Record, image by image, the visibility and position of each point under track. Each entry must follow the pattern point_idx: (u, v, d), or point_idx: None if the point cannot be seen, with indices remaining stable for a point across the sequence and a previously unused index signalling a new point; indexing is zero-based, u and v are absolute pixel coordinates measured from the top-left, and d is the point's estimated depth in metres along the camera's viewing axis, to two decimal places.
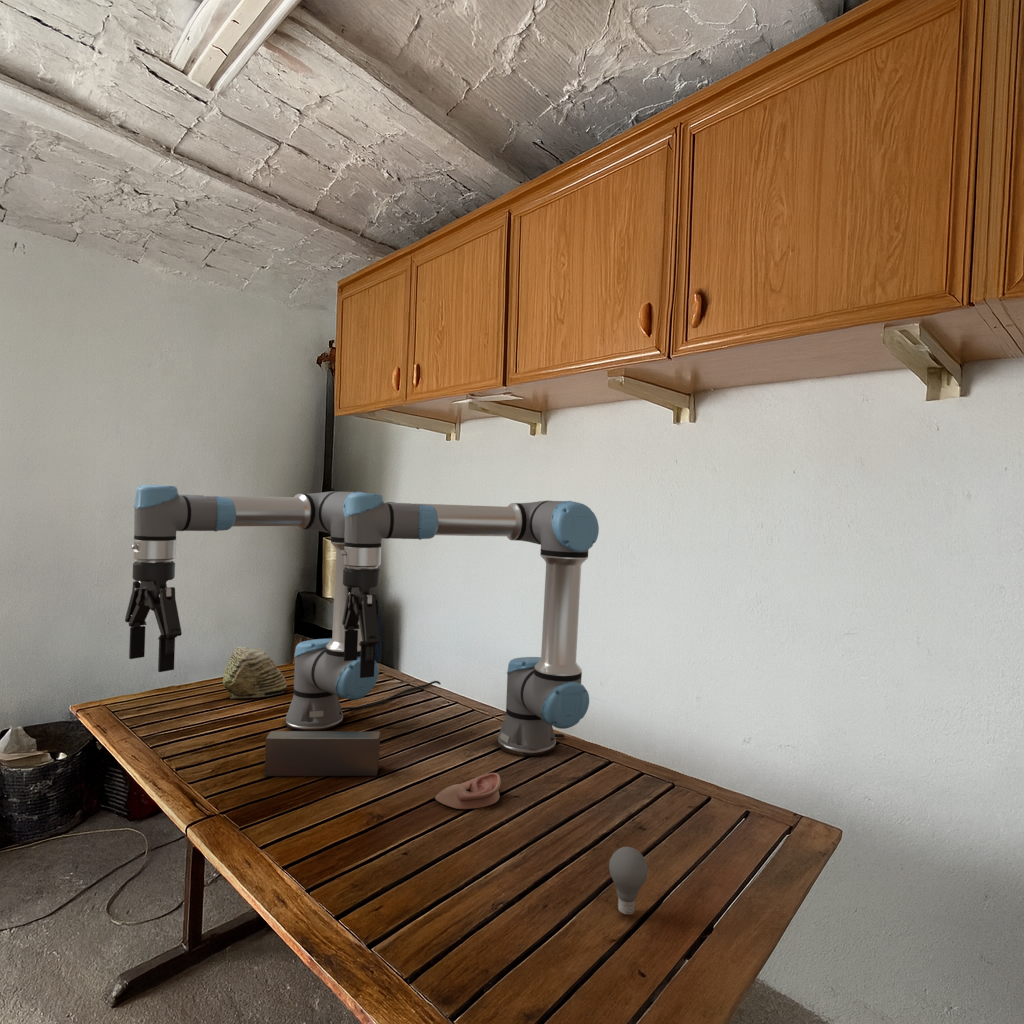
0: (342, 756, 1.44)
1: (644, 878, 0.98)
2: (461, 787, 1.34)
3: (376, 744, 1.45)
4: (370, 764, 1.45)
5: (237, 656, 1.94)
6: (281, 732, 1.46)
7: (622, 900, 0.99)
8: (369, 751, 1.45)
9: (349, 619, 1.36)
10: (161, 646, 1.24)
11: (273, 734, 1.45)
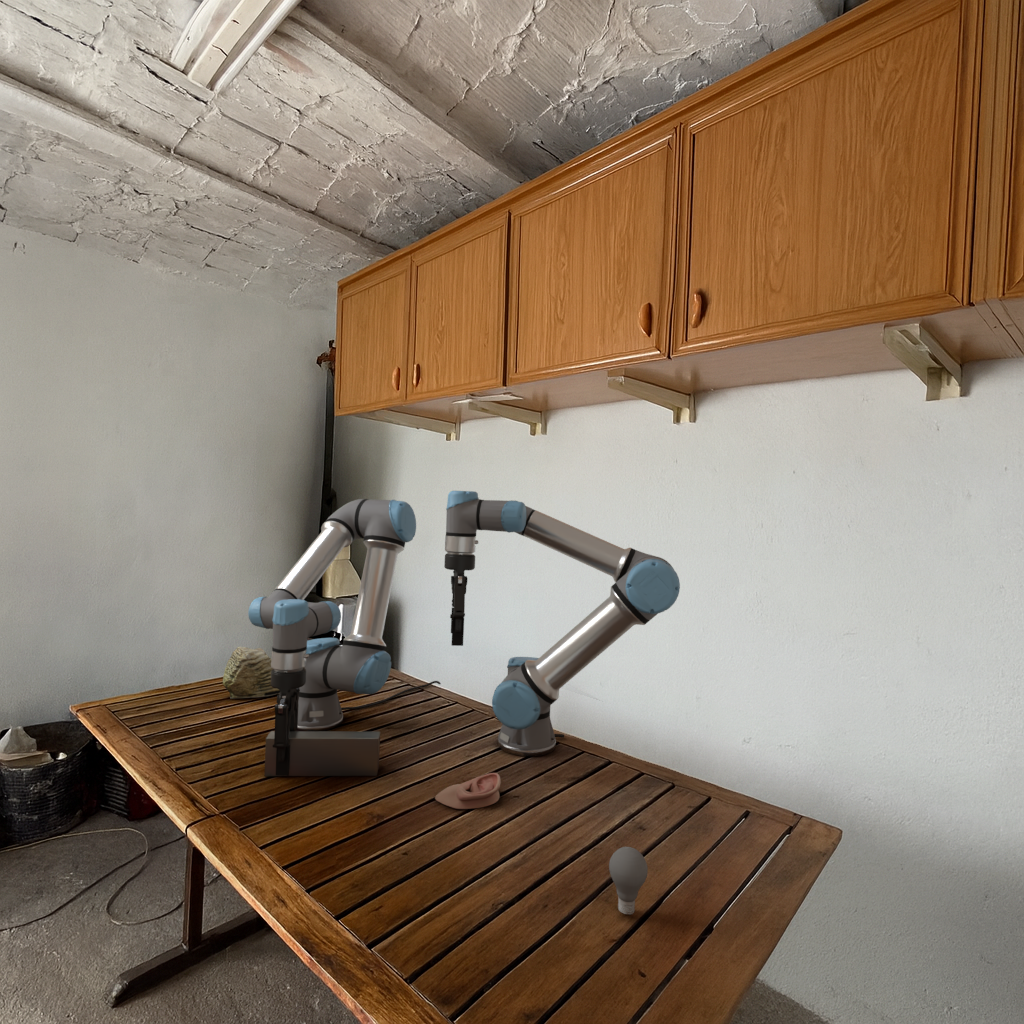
0: (342, 756, 1.44)
1: (644, 878, 0.98)
2: (461, 787, 1.34)
3: (376, 744, 1.45)
4: (370, 764, 1.45)
5: (237, 656, 1.94)
6: None
7: (622, 900, 0.99)
8: (369, 751, 1.45)
9: None
10: None
11: (273, 734, 1.45)
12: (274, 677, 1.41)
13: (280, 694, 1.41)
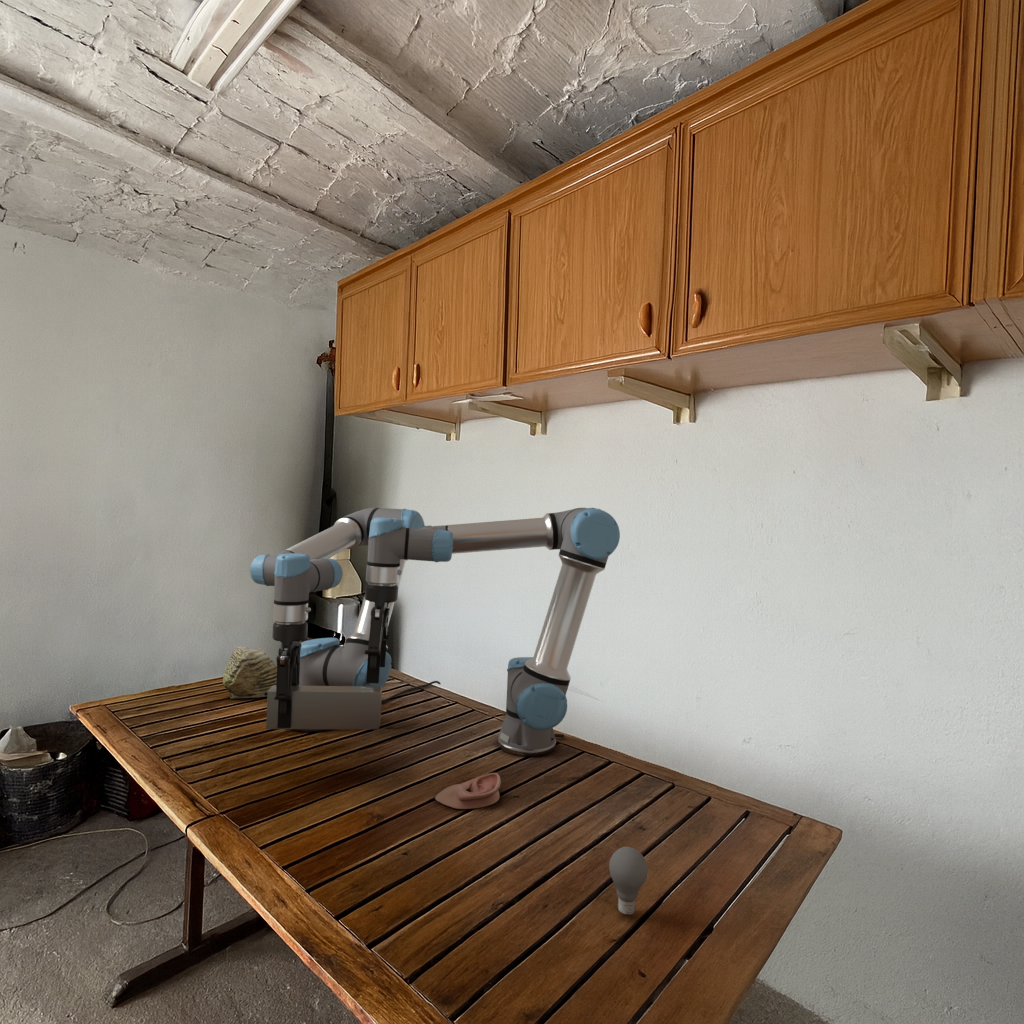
0: (344, 710, 1.44)
1: (644, 878, 0.98)
2: (461, 787, 1.34)
3: (378, 698, 1.45)
4: (372, 717, 1.45)
5: (237, 656, 1.94)
6: None
7: (622, 900, 0.99)
8: (371, 705, 1.44)
9: None
10: None
11: (275, 687, 1.44)
12: (276, 630, 1.41)
13: (282, 646, 1.40)
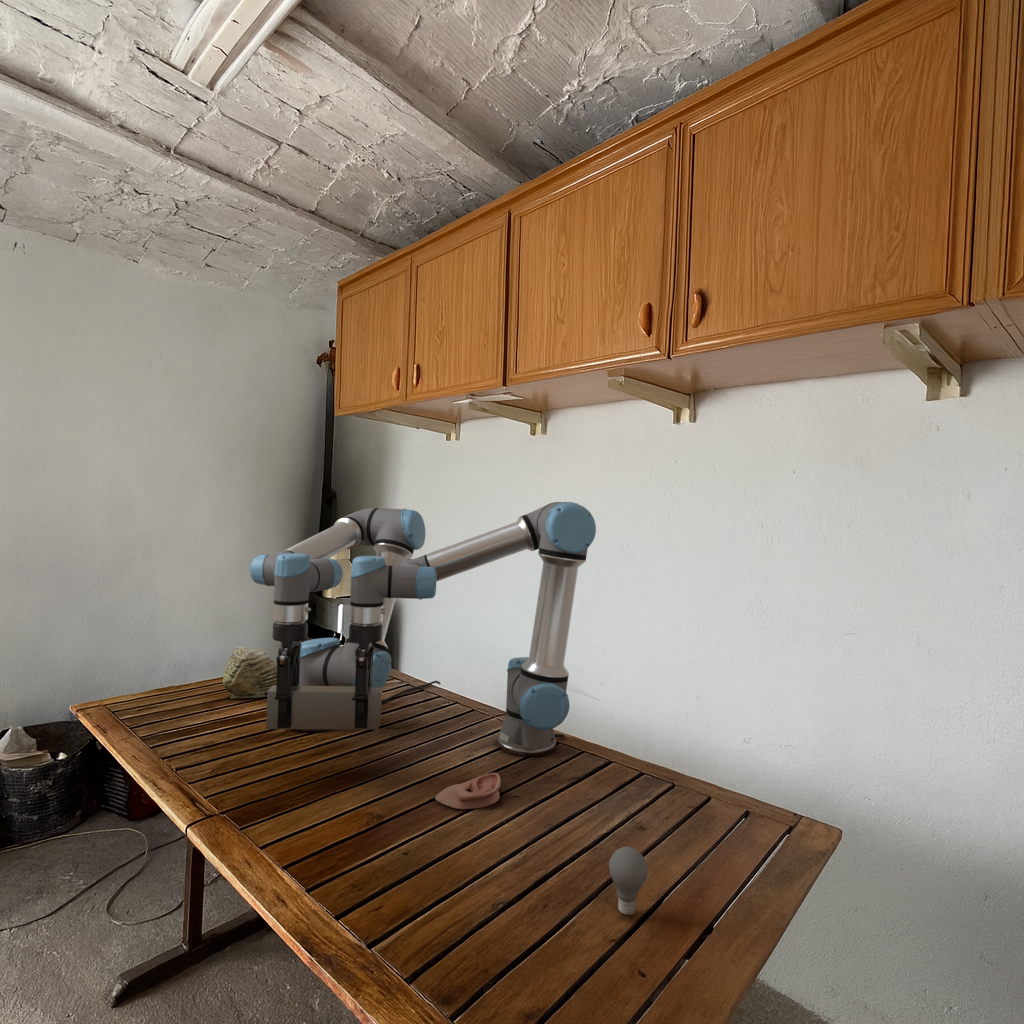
0: (344, 710, 1.44)
1: (644, 878, 0.98)
2: (461, 787, 1.34)
3: (378, 698, 1.44)
4: (372, 718, 1.44)
5: (237, 656, 1.94)
6: None
7: (622, 900, 0.99)
8: (371, 705, 1.44)
9: None
10: None
11: (275, 687, 1.44)
12: (276, 629, 1.41)
13: (282, 646, 1.40)
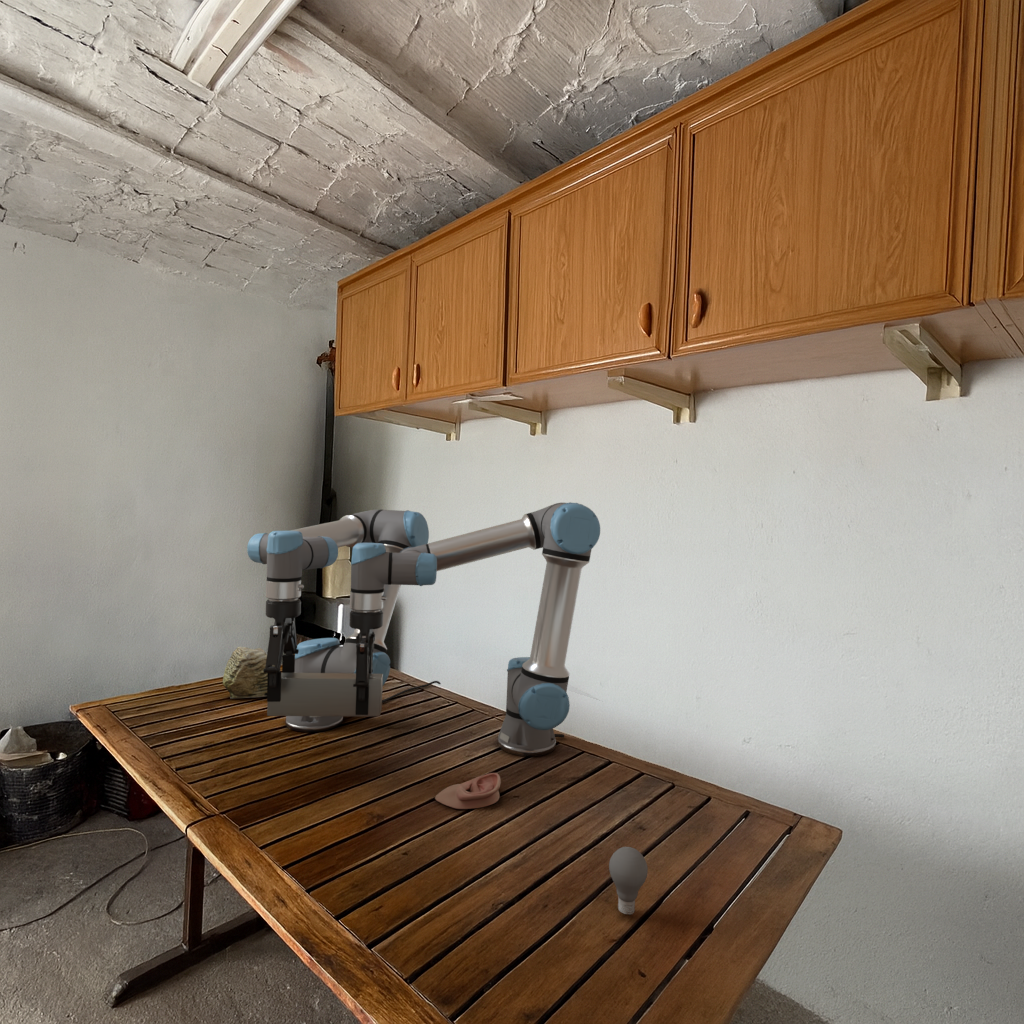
0: (344, 696, 1.44)
1: (644, 878, 0.98)
2: (461, 787, 1.34)
3: (379, 684, 1.44)
4: (373, 704, 1.44)
5: (237, 656, 1.94)
6: (284, 673, 1.46)
7: (622, 900, 0.99)
8: (372, 692, 1.44)
9: None
10: None
11: None
12: (269, 606, 1.41)
13: (275, 623, 1.40)
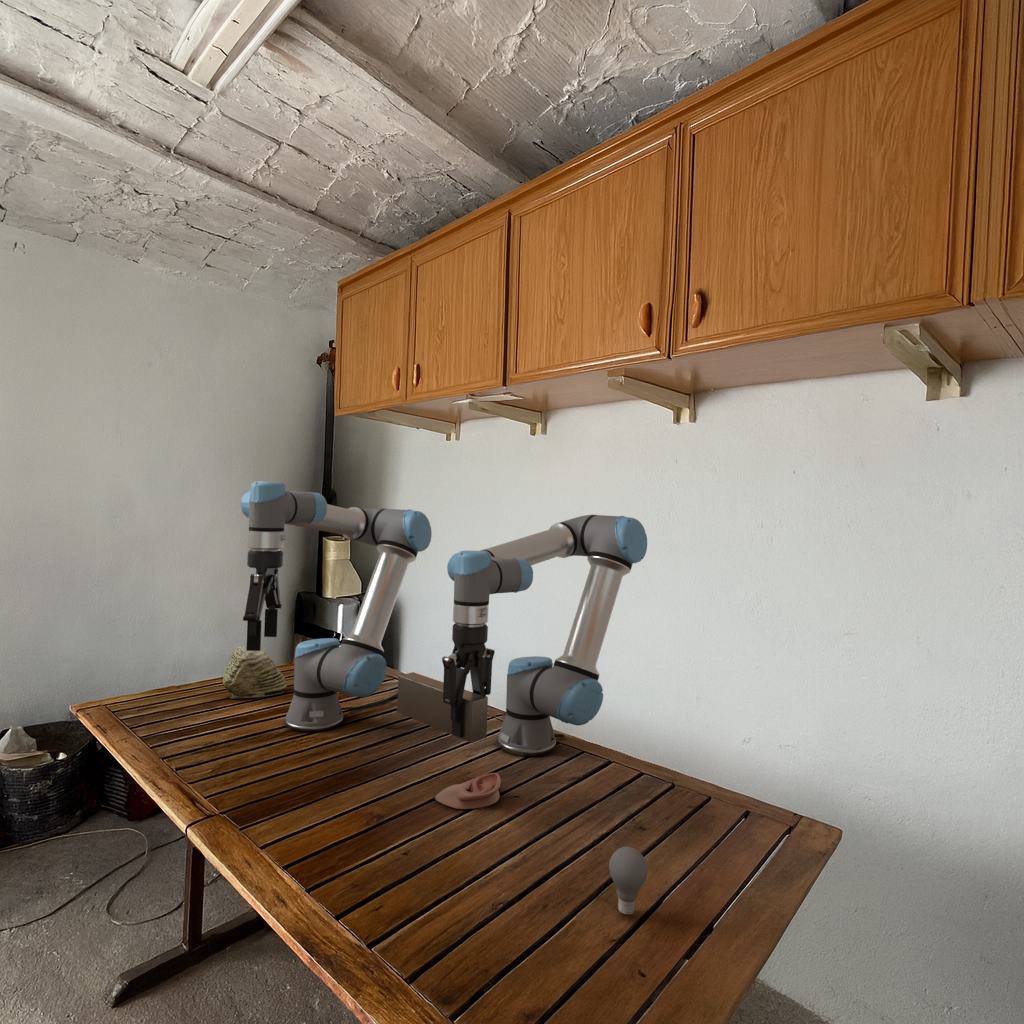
0: (446, 711, 1.36)
1: (644, 878, 0.98)
2: (461, 787, 1.34)
3: (471, 707, 1.31)
4: (466, 728, 1.32)
5: (237, 656, 1.94)
6: (417, 675, 1.48)
7: (622, 900, 0.99)
8: (466, 714, 1.32)
9: None
10: None
11: (410, 674, 1.49)
12: (250, 556, 1.40)
13: (256, 572, 1.39)
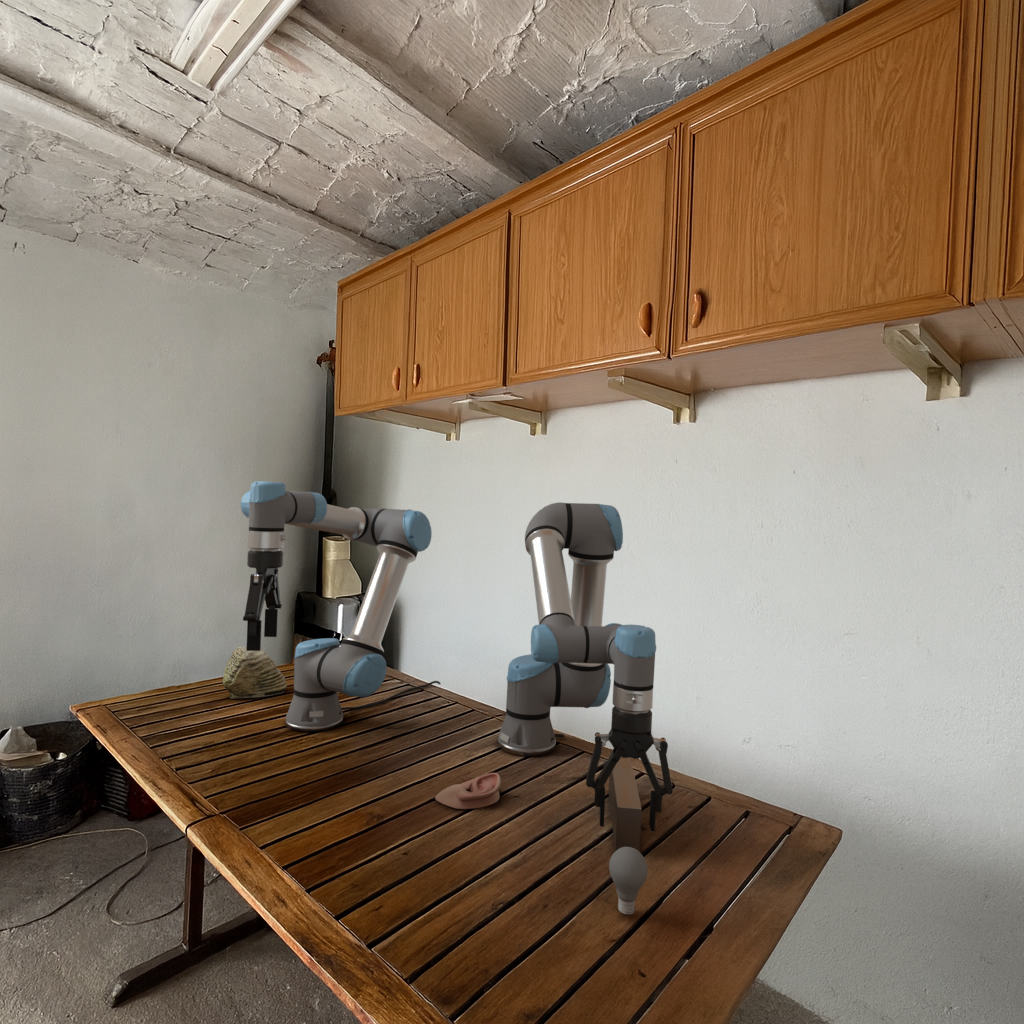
0: (613, 808, 1.25)
1: (644, 878, 0.98)
2: (461, 787, 1.34)
3: (616, 813, 1.17)
4: (615, 834, 1.19)
5: (237, 656, 1.94)
6: (627, 759, 1.39)
7: (622, 900, 0.99)
8: None
9: None
10: None
11: None
12: (250, 556, 1.40)
13: (256, 572, 1.39)
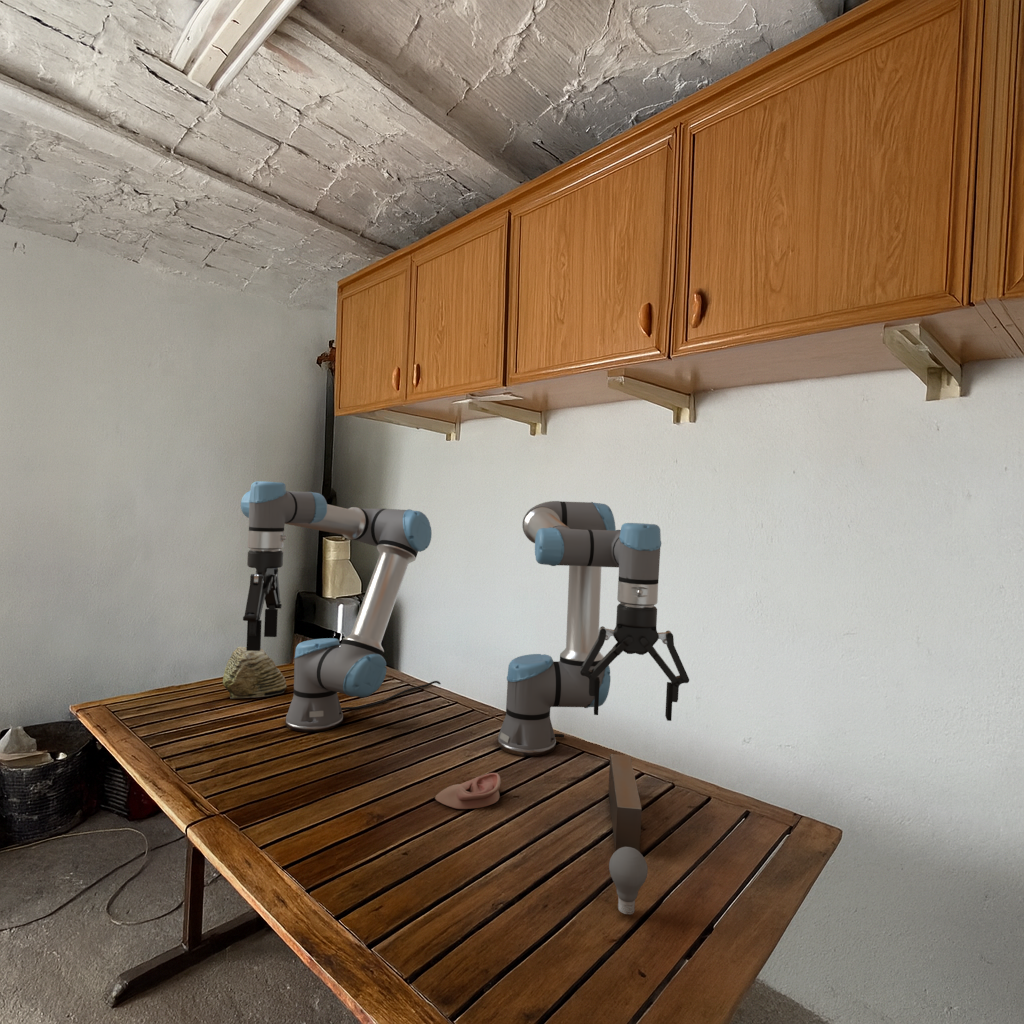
0: (613, 808, 1.25)
1: (644, 878, 0.98)
2: (461, 787, 1.34)
3: (616, 813, 1.17)
4: (615, 834, 1.19)
5: (237, 656, 1.94)
6: (627, 759, 1.39)
7: (622, 900, 0.99)
8: None
9: None
10: None
11: (622, 756, 1.40)
12: (250, 556, 1.40)
13: (256, 572, 1.39)
